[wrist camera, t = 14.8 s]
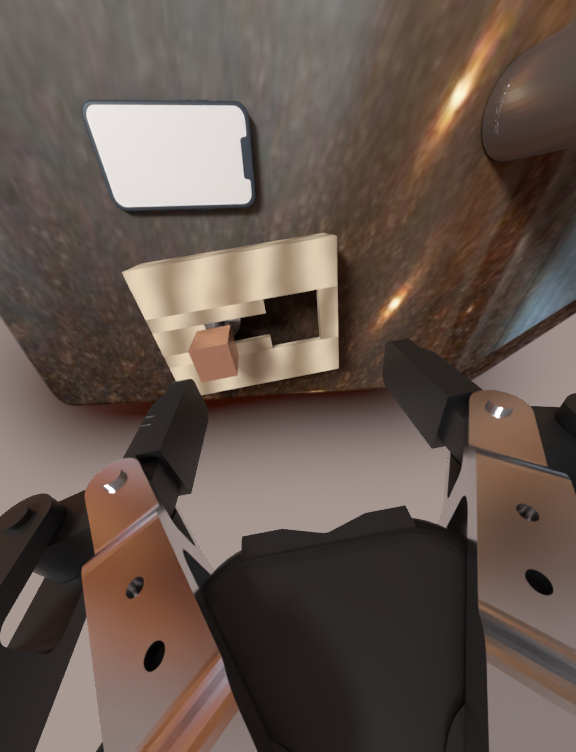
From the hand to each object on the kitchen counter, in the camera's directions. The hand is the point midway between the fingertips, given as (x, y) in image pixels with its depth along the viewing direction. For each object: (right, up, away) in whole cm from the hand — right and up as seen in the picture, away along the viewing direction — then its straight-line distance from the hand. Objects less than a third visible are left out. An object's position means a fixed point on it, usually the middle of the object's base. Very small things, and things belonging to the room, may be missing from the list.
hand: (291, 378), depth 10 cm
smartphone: (-12, +24, +17) cm, 32 cm away
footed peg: (-10, +9, +26) cm, 29 cm away
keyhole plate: (-6, +10, +26) cm, 29 cm away
